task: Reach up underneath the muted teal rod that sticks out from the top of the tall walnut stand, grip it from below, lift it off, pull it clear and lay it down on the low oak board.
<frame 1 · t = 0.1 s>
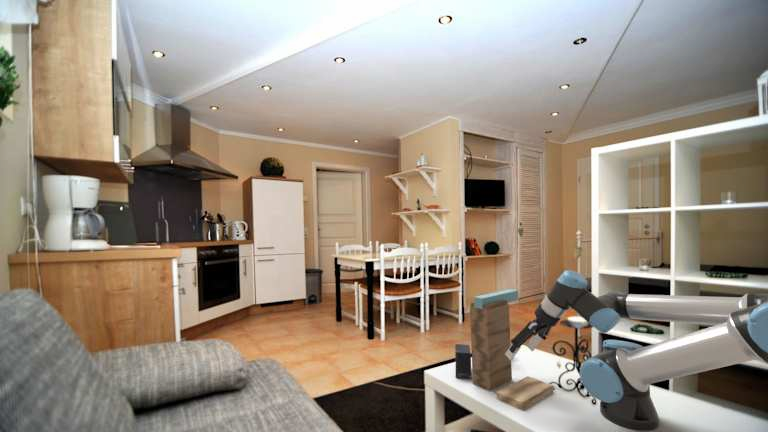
hand: (519, 352, 124), 15 cm above the table, tool tilted 35°, fingers open, 13 cm apart
stand: (492, 382, 135), on the table
oak board: (525, 395, 124), on the table
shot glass: (481, 366, 151), on the table
small box: (463, 373, 144), on the table
rod: (497, 303, 139), point 30 cm above the table, touching stand
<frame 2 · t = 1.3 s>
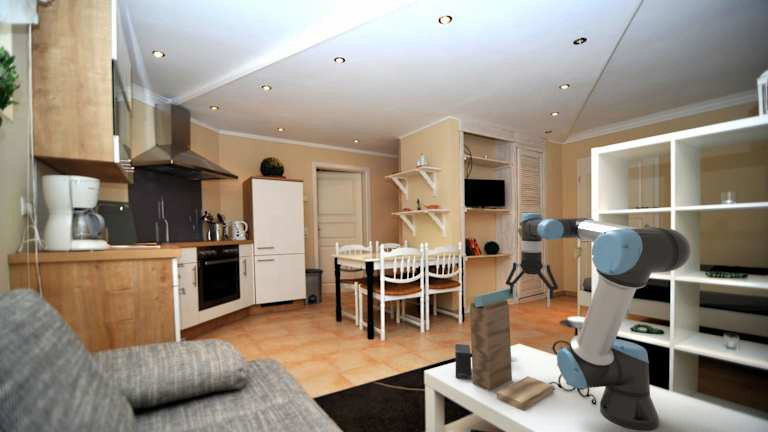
hand: (531, 304, 139), 29 cm above the table, tool pointing down, fingers open, 12 cm apart
rod: (497, 301, 139), point 31 cm above the table, tilted 16°, touching gripper, stand
everything else where it was.
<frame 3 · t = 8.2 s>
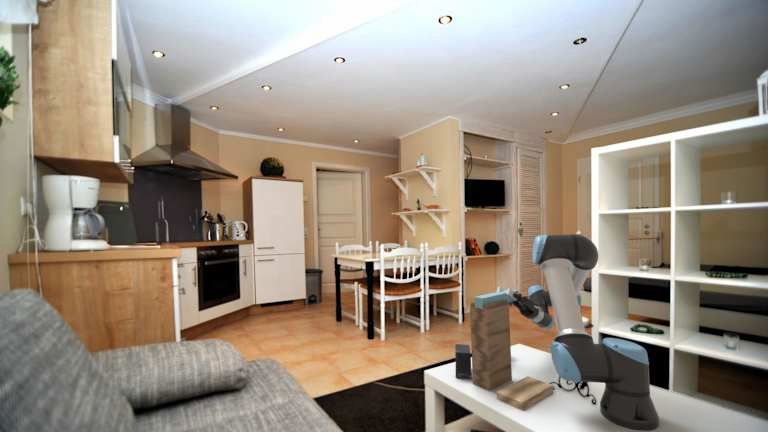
hand: (503, 290, 142), 35 cm above the table, tool pointing upward, fingers closed on rod, 4 cm apart
rod: (497, 303, 139), point 30 cm above the table, touching gripper, stand
everything else where it was.
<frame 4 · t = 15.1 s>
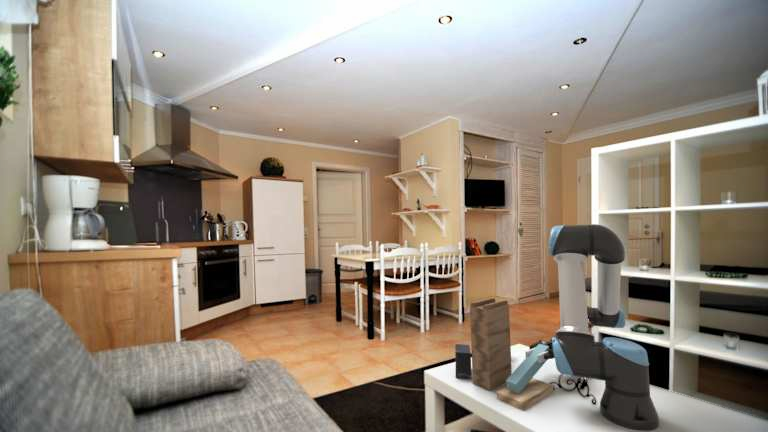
hand: (532, 357, 129), 12 cm above the table, tool horizontal, fingers closed on rod, 4 cm apart
rod: (530, 371, 128), point 7 cm above the table, tilted 20°, touching gripper, oak board
everything else where it was.
when the fingers open (8 cm above the table, at t = 16.8 s): rod drops 1 cm, resting on oak board.
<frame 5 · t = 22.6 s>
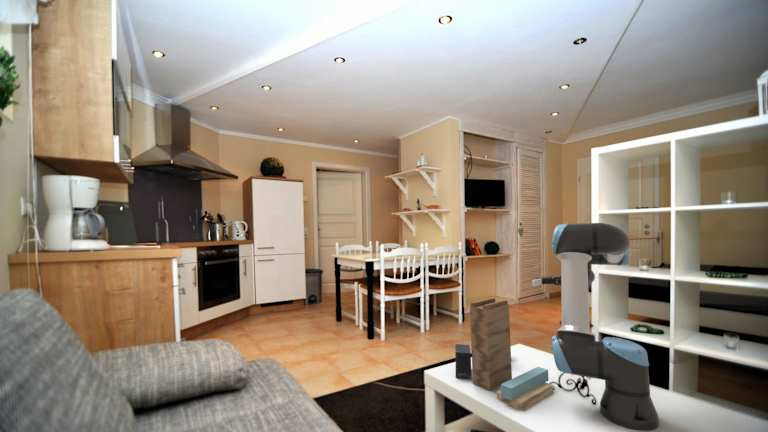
hand: (548, 285, 144), 36 cm above the table, tool horizontal, fingers open, 13 cm apart
rod: (525, 388, 124), point 2 cm above the table, touching oak board
everything else where it was.
at the end: rod inside the target area (1.5 cm from its centre), point 2.5 cm above the table; rod touching oak board; the gripper is holding nothing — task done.
